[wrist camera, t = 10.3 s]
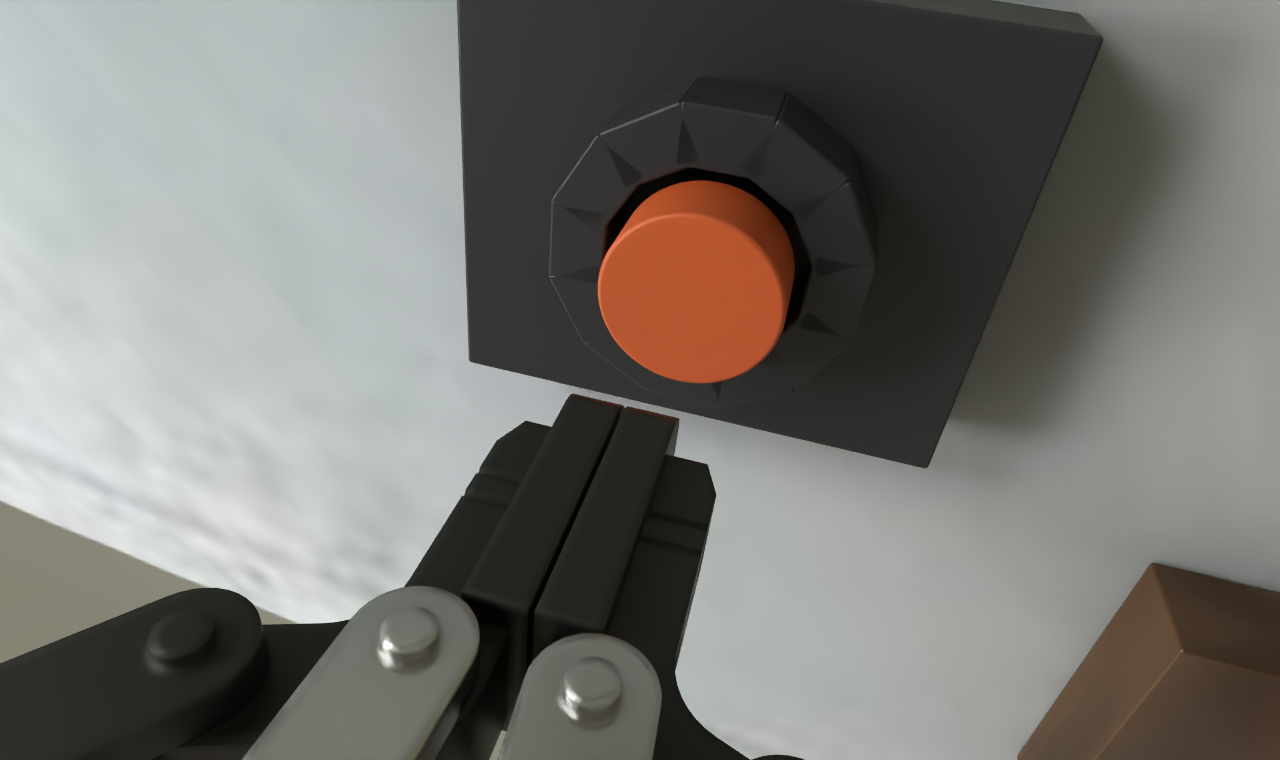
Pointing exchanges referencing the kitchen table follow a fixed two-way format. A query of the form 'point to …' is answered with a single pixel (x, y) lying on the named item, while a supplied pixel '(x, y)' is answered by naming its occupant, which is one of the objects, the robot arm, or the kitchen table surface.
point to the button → (698, 282)
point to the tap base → (1174, 678)
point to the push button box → (766, 186)
